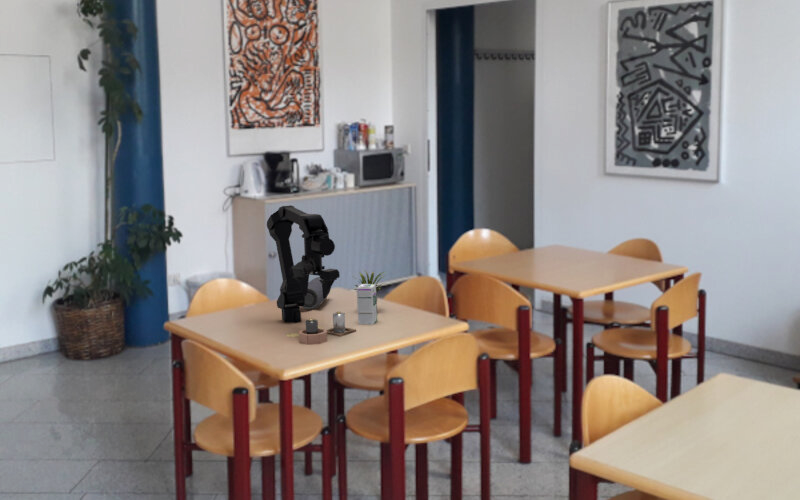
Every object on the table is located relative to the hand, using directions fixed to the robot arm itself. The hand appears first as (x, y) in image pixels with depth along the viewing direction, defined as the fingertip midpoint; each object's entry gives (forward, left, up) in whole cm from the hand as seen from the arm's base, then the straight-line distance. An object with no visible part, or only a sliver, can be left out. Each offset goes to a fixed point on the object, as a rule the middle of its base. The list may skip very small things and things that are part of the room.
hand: (314, 297), depth 307 cm
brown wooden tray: (+8, +3, -13) cm, 16 cm away
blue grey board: (-3, -2, -13) cm, 13 cm away
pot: (+7, -9, -13) cm, 18 cm away
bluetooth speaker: (-31, +32, -13) cm, 47 cm away
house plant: (-5, +36, -13) cm, 39 cm away
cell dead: (+7, -9, -12) cm, 17 cm away
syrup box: (+7, +19, -13) cm, 24 cm away
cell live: (+8, +3, -12) cm, 15 cm away
